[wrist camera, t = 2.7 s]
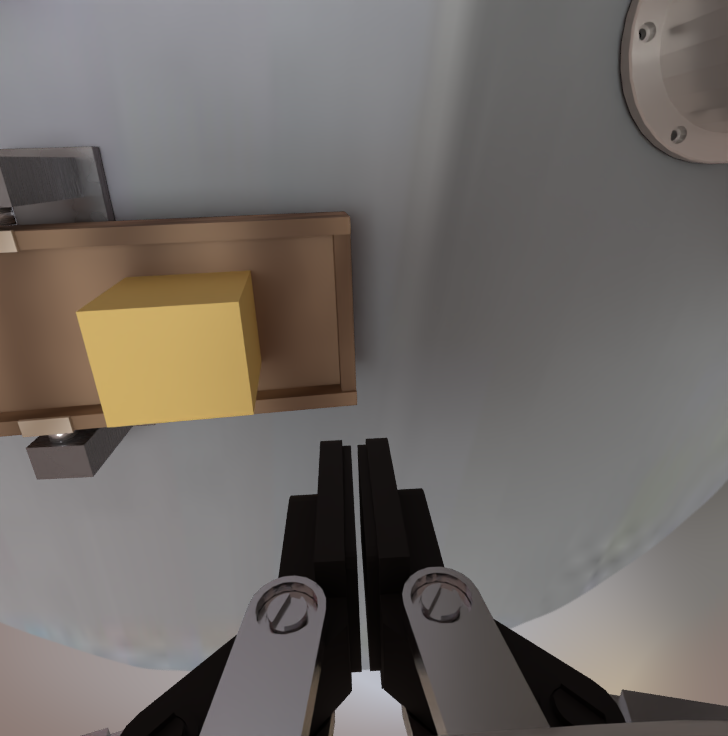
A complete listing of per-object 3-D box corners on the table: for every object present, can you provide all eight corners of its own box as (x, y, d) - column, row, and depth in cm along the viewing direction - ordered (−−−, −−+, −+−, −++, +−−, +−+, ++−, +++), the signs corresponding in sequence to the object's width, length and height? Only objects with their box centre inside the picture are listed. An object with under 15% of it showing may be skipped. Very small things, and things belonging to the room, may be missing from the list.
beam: (344, 210, 25) (350, 216, 23) (351, 384, 29) (357, 407, 27) (-366, 240, 22) (-462, 251, 19) (-247, 434, 26) (-312, 467, 23)
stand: (98, 147, 26) (17, 142, 20) (159, 419, 33) (114, 483, 27) (5, 149, 26) (-108, 145, 20) (85, 422, 33) (21, 487, 26)
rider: (250, 270, 24) (238, 301, 19) (261, 362, 26) (253, 414, 21) (125, 277, 24) (75, 311, 18) (146, 370, 26) (107, 427, 20)
